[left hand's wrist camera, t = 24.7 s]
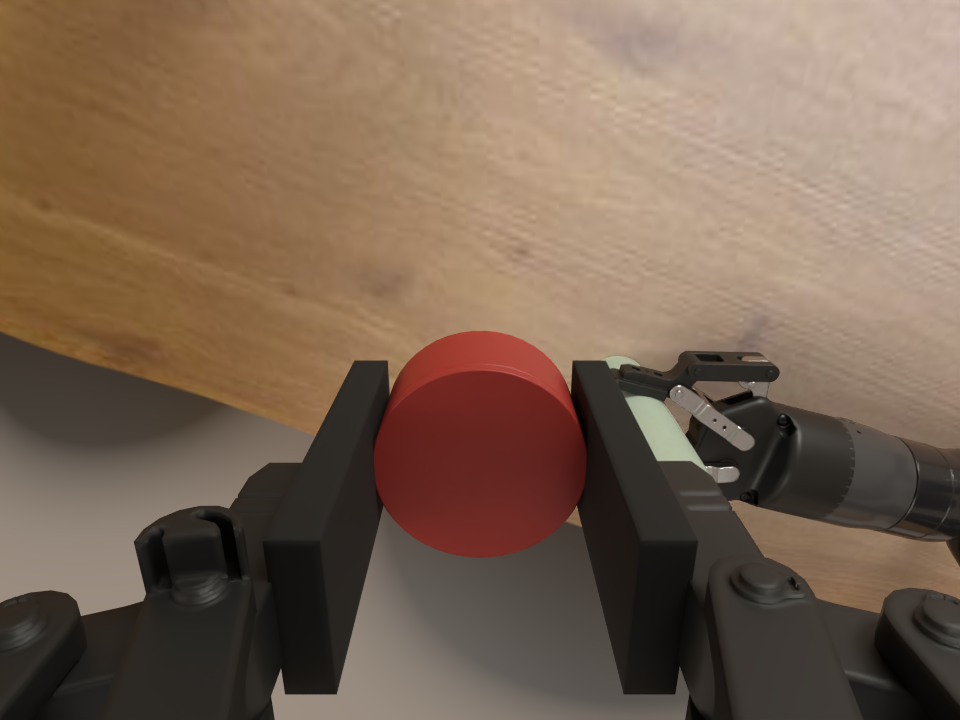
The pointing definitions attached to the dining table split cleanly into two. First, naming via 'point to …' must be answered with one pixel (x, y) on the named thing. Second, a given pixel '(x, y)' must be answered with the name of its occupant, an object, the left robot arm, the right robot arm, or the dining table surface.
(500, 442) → the cap
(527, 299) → the dining table surface
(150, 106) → the dining table surface
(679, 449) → the bottle
